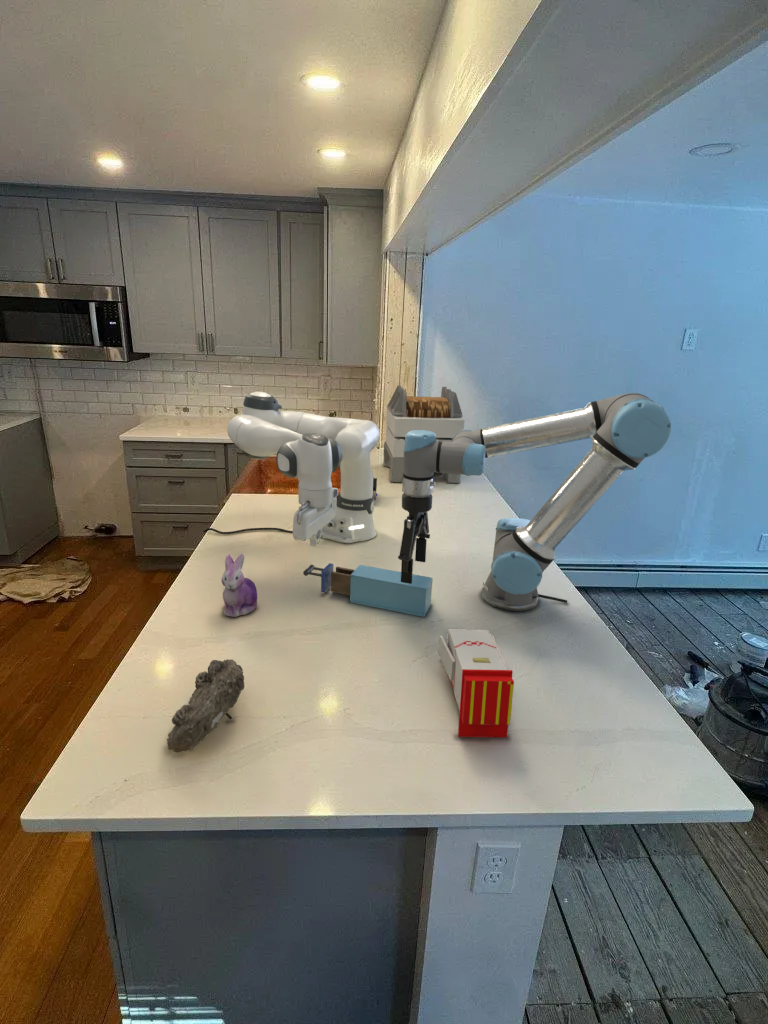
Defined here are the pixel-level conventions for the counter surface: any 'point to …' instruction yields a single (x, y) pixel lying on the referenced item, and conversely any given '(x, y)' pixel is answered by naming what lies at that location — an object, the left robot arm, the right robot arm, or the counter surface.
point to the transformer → (419, 425)
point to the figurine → (237, 589)
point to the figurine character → (374, 487)
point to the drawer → (332, 578)
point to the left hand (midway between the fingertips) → (315, 544)
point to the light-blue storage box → (390, 590)
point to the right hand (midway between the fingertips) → (413, 571)
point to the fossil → (206, 705)
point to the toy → (478, 682)
